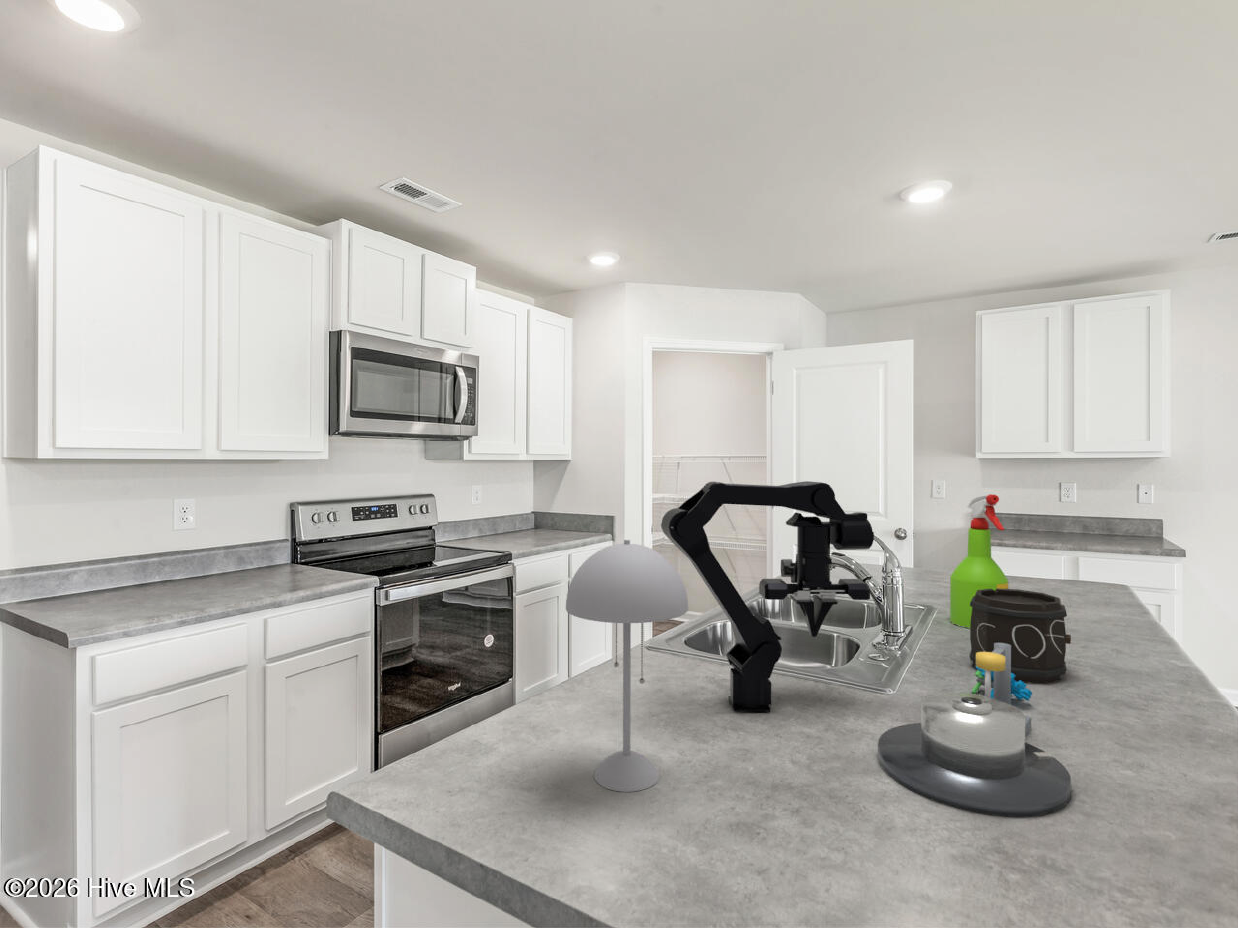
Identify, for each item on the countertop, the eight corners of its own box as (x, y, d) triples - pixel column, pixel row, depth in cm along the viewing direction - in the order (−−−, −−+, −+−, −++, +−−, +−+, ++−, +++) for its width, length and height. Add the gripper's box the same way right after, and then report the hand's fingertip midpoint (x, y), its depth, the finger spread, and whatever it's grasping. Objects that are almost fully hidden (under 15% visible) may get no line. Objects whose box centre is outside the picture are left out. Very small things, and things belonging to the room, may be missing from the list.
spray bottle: (975, 635, 165) (976, 495, 164) (940, 617, 183) (941, 491, 182) (1030, 635, 165) (1031, 495, 164) (990, 618, 183) (991, 491, 182)
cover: (946, 778, 88) (946, 717, 87) (906, 737, 101) (906, 683, 100) (1045, 780, 87) (1046, 718, 87) (992, 738, 100) (993, 684, 100)
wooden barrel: (1073, 692, 125) (1073, 609, 125) (966, 675, 135) (967, 598, 135) (1068, 666, 141) (1069, 593, 141) (973, 653, 150) (973, 584, 150)
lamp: (572, 747, 101) (572, 532, 101) (683, 749, 101) (684, 533, 100) (558, 806, 84) (558, 548, 84) (692, 808, 84) (693, 549, 83)
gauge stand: (983, 717, 113) (984, 636, 113) (1031, 729, 108) (1031, 644, 108) (961, 742, 103) (962, 653, 103) (1012, 755, 99) (1013, 662, 99)
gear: (1046, 700, 117) (1007, 661, 116) (1028, 726, 116) (988, 687, 115) (1000, 687, 128) (964, 651, 127) (983, 711, 126) (947, 675, 126)
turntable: (921, 815, 82) (922, 796, 82) (854, 734, 106) (855, 719, 106) (1116, 817, 82) (1116, 797, 82) (1004, 735, 106) (1005, 720, 106)
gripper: (850, 544, 128) (849, 625, 128) (753, 544, 128) (753, 624, 128) (871, 553, 117) (871, 641, 117) (765, 553, 117) (765, 640, 117)
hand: (813, 636), depth 120 cm, fingers closed
